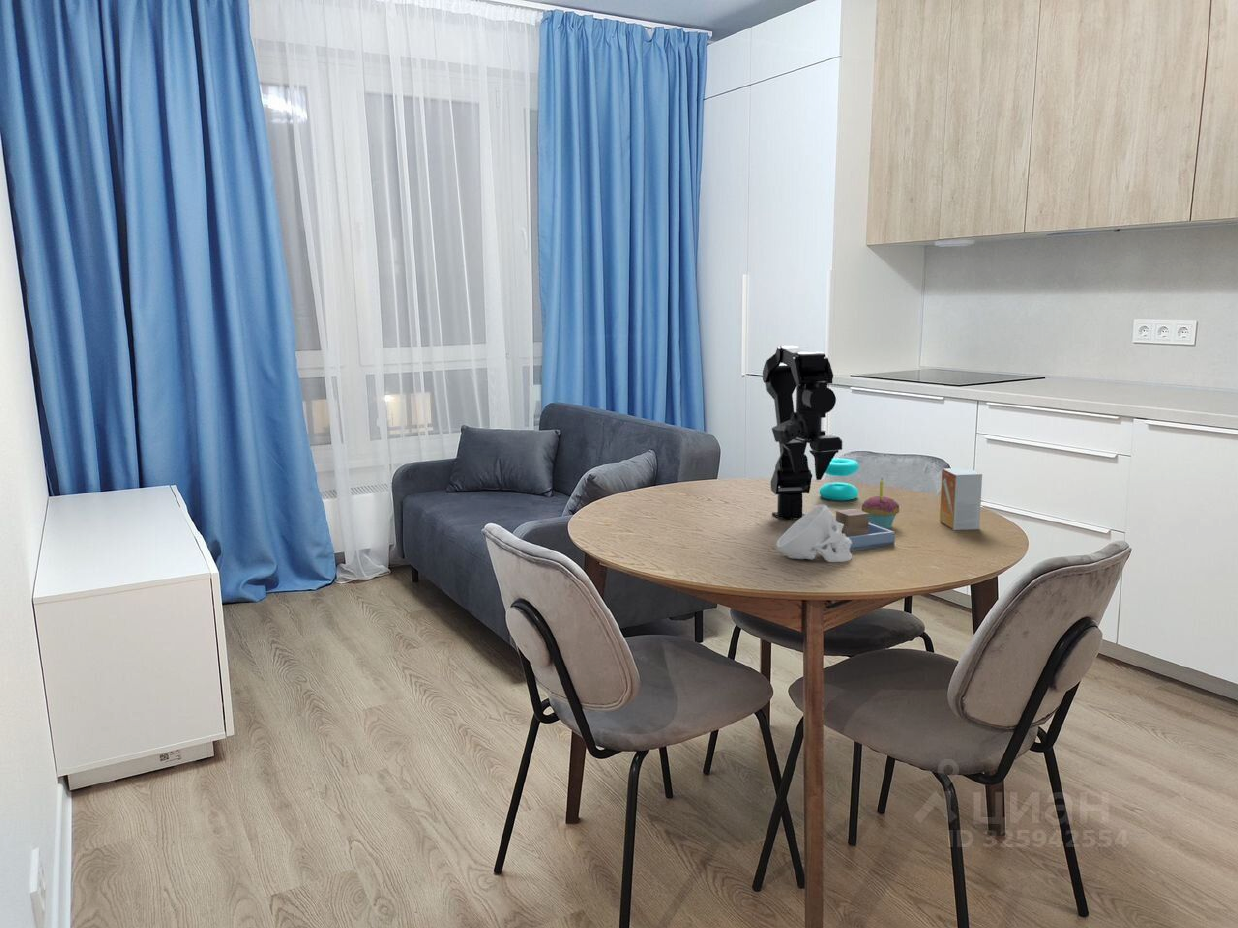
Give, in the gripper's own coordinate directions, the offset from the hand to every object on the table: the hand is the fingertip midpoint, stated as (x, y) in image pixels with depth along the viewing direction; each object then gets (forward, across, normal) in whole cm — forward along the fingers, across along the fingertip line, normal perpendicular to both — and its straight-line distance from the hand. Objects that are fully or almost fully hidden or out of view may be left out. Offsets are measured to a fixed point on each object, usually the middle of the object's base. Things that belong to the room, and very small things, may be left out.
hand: (807, 476), depth 207 cm
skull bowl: (+13, +18, -10) cm, 25 cm away
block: (+12, +12, +4) cm, 18 cm away
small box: (+13, +10, +35) cm, 39 cm away
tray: (+13, +12, +4) cm, 18 cm away
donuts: (+13, -27, +27) cm, 41 cm away
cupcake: (+13, +3, +18) cm, 23 cm away
